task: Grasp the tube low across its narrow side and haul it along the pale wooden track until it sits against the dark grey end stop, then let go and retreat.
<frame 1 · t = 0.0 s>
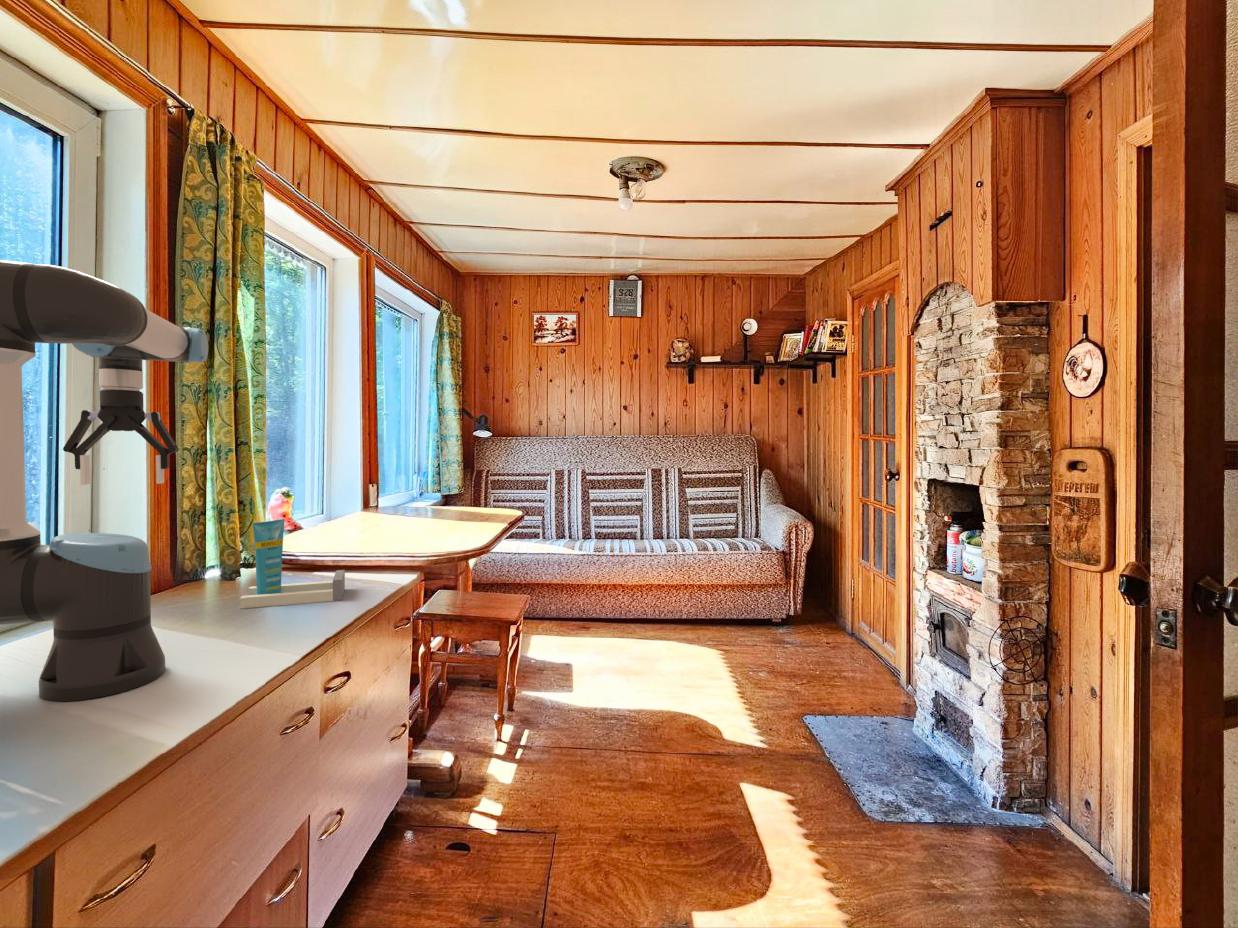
hand: (123, 483, 133), 28 cm above the cabinet, fingers open, 13 cm apart
track: (293, 598, 142), on the cabinet
tube: (269, 601, 140), resting in track
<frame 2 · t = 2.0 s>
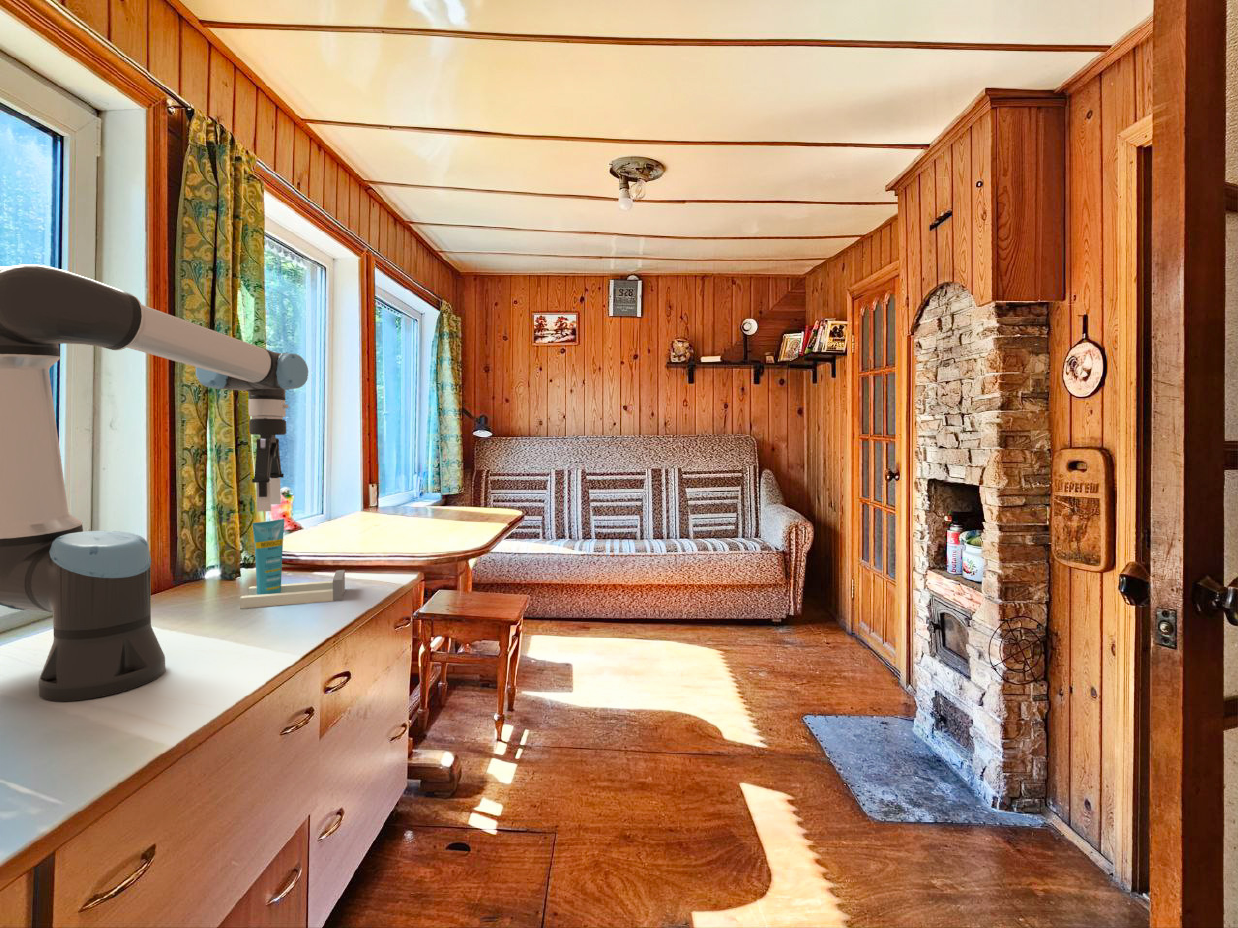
hand: (269, 507, 140), 22 cm above the cabinet, fingers open, 13 cm apart
nothing on the cabinet moved.
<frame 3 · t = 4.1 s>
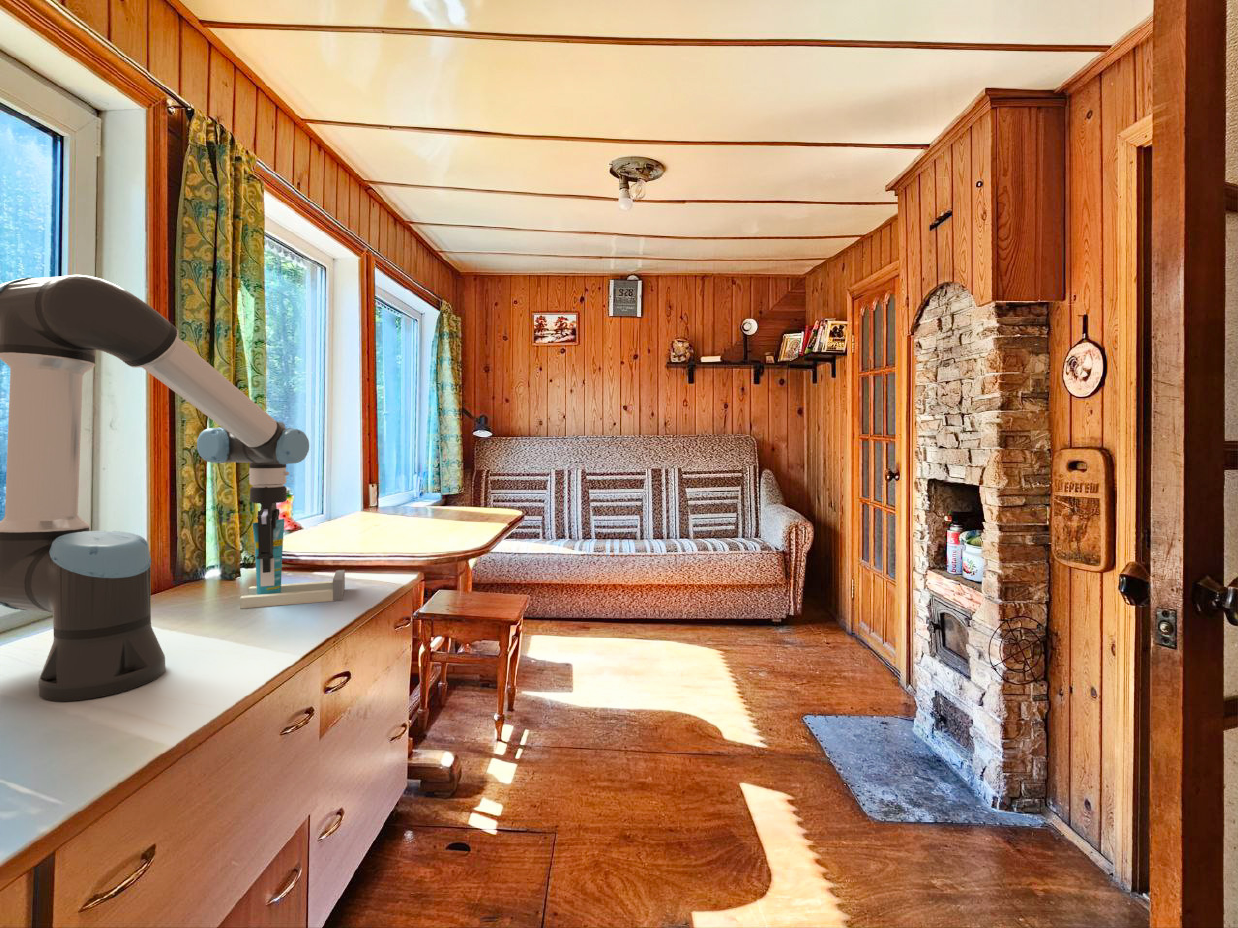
hand: (269, 582, 140), 4 cm above the cabinet, fingers closed on tube, 5 cm apart
tube: (269, 601, 140), resting in track, touching gripper
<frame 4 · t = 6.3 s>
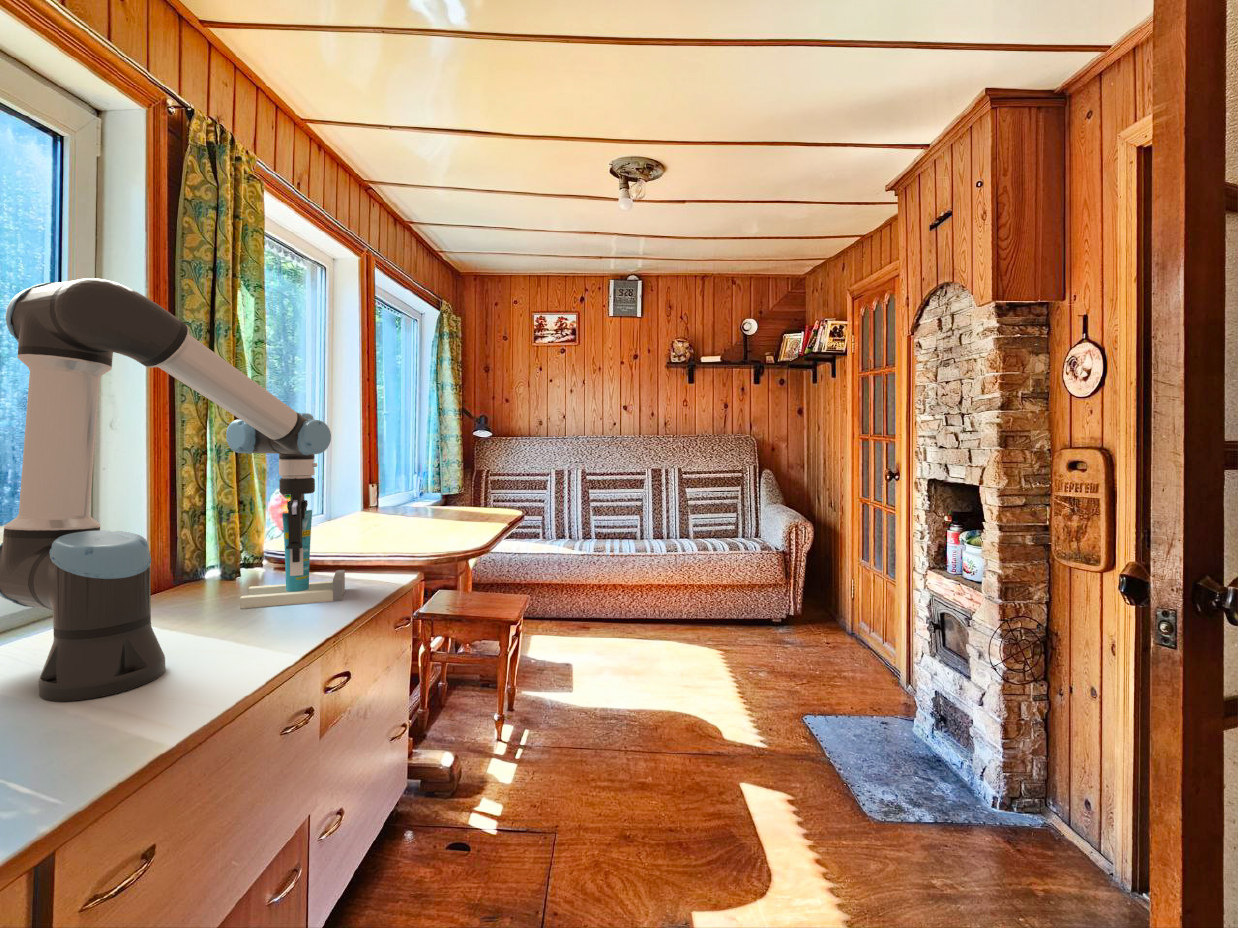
hand: (298, 572, 142), 6 cm above the cabinet, fingers closed on tube, 5 cm apart
tube: (298, 590, 143), point 2 cm above the cabinet, touching gripper
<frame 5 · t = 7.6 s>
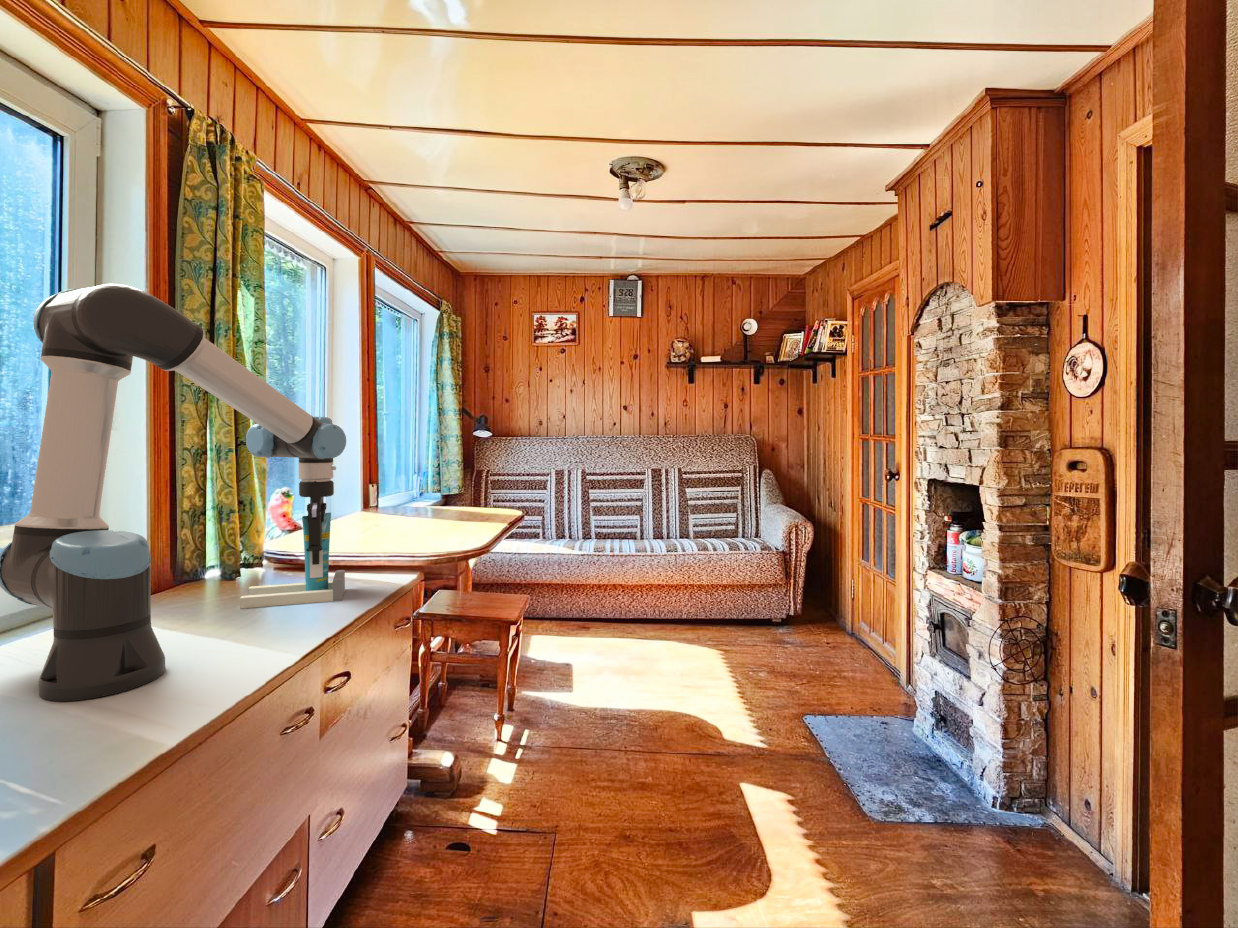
hand: (317, 574, 144), 5 cm above the cabinet, fingers closed on tube, 5 cm apart
tube: (317, 592, 144), point 1 cm above the cabinet, touching gripper
when the fingers open (5 cm above the cabinet, at t = 8.5 s): tube stays where it is, resting in track.
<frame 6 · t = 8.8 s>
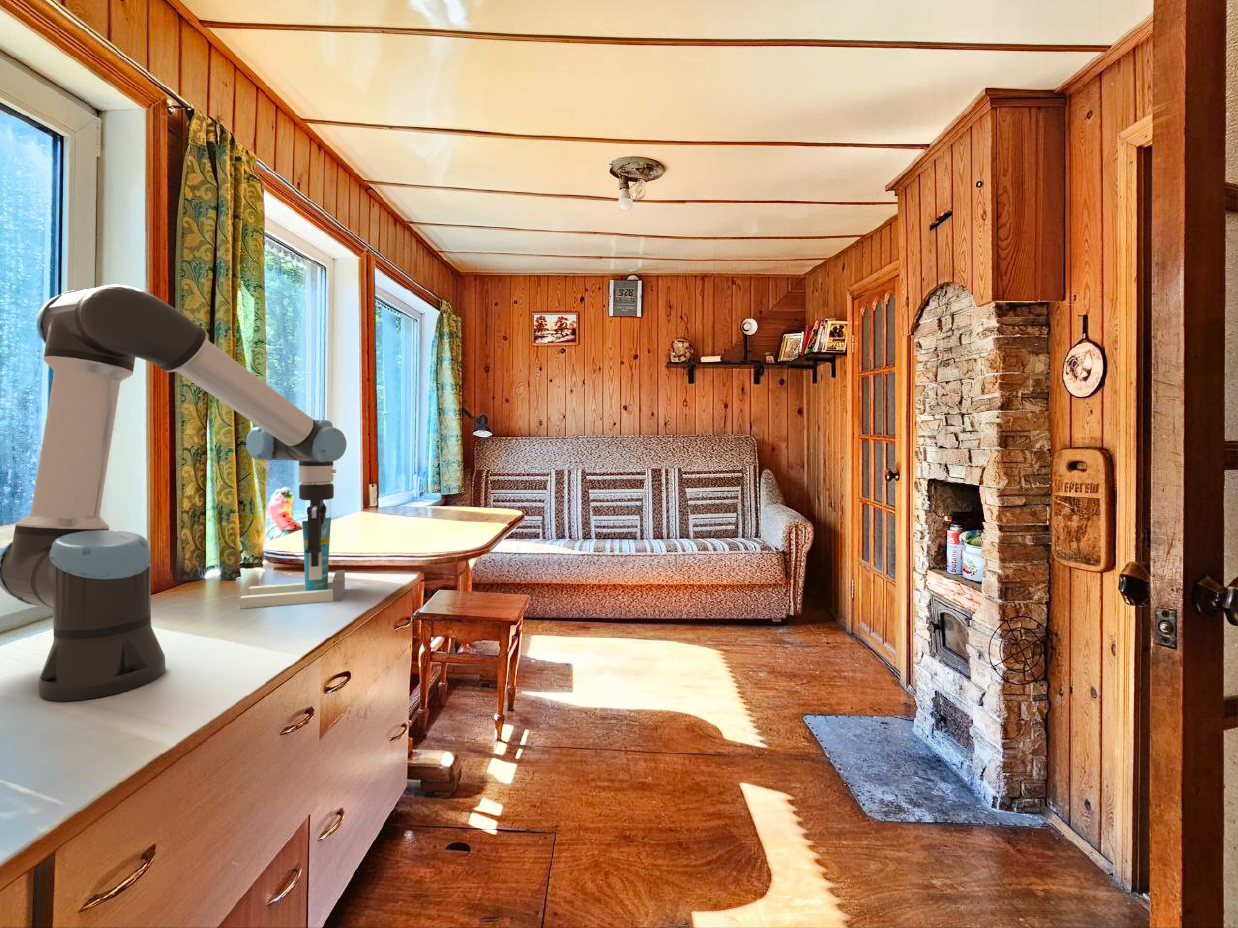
hand: (317, 575, 144), 5 cm above the cabinet, fingers open, 8 cm apart
tube: (317, 597, 144), resting in track
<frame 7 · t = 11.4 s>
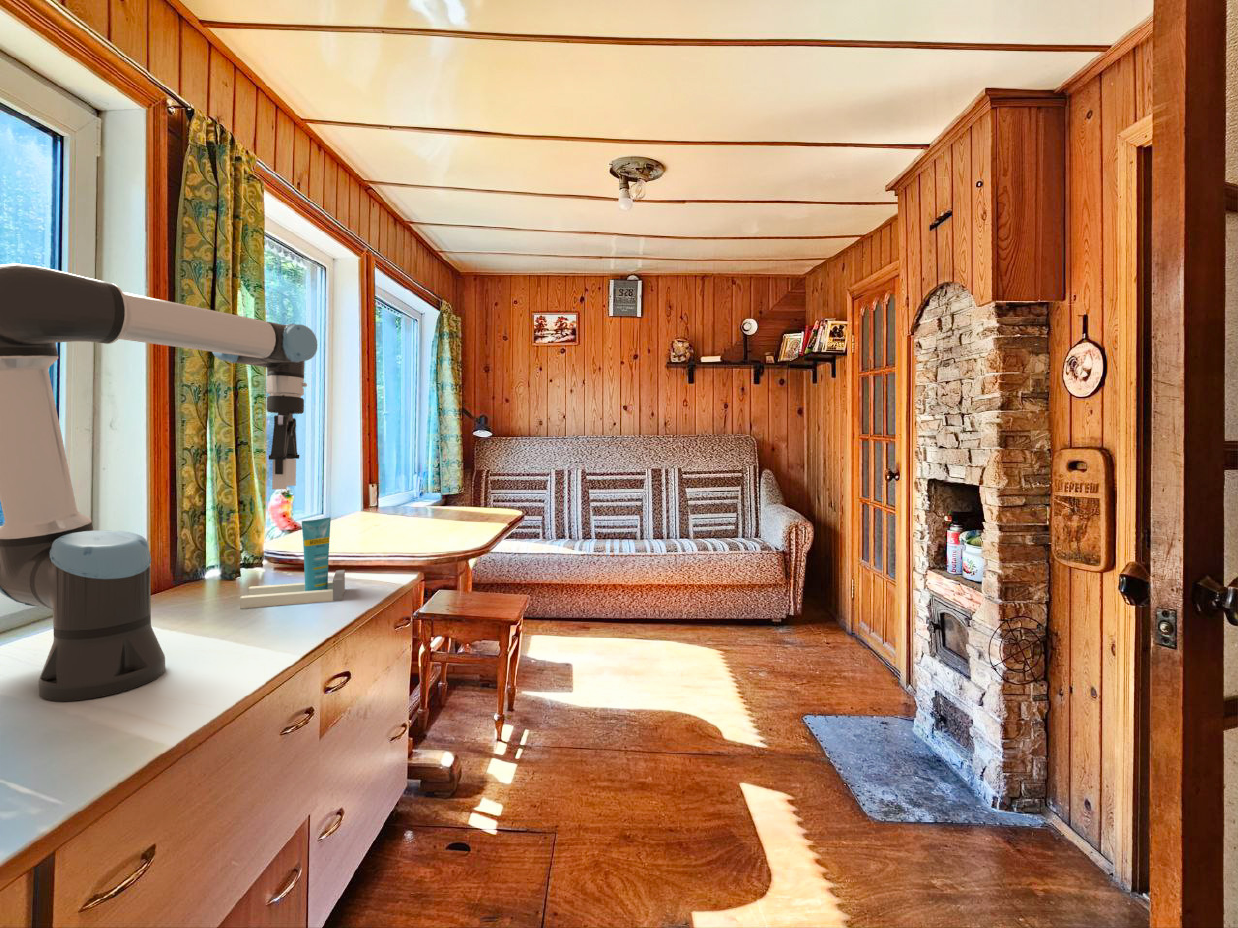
hand: (284, 487, 137), 27 cm above the cabinet, fingers open, 13 cm apart
nothing on the cabinet moved.
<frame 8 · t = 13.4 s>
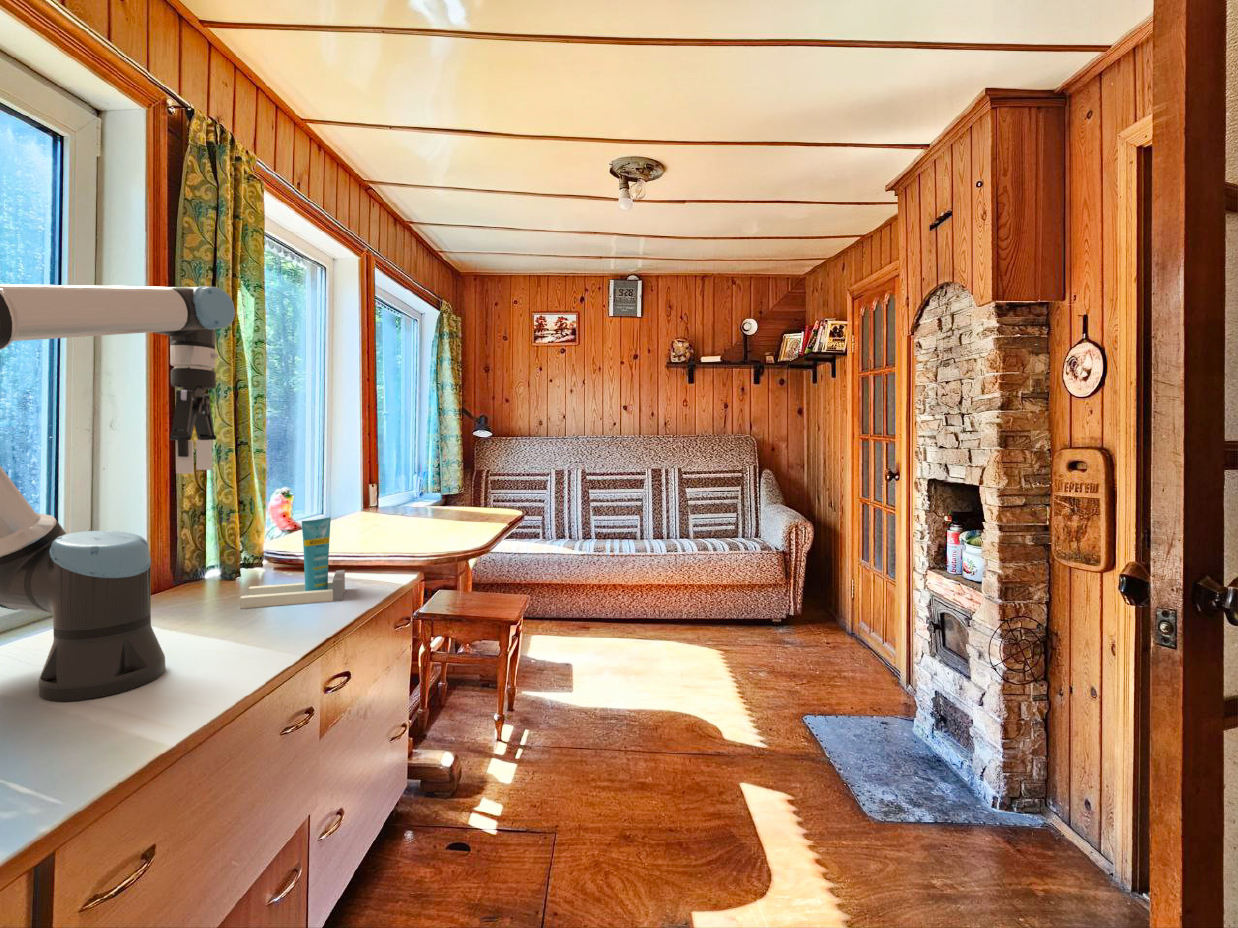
hand: (195, 471, 122), 32 cm above the cabinet, fingers open, 13 cm apart
nothing on the cabinet moved.
at the end: tube 0.4 cm from the target spot, resting in track; tube tilted 0°; the gripper is holding nothing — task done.
